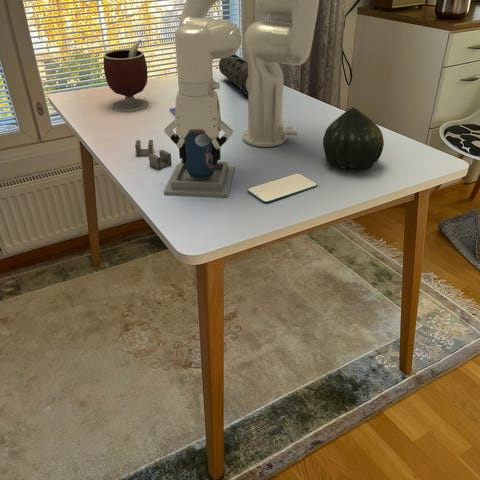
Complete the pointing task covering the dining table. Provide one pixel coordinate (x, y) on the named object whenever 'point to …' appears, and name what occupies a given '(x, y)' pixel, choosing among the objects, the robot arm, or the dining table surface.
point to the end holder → (201, 182)
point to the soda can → (199, 154)
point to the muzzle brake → (235, 71)
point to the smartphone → (281, 188)
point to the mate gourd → (127, 77)
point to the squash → (353, 141)
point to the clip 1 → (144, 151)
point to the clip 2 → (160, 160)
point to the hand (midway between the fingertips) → (200, 161)
